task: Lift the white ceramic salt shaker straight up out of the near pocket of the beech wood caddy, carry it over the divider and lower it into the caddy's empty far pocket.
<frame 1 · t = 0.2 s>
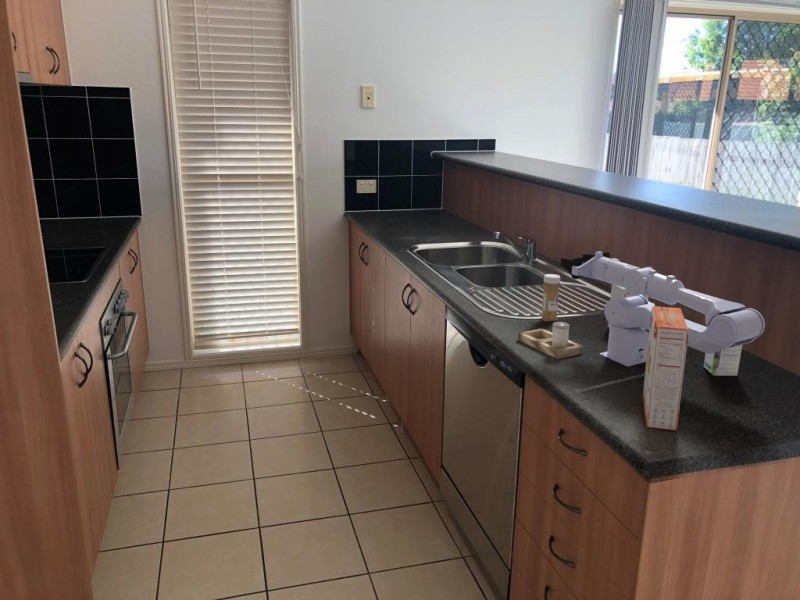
hand: (572, 259, 172), 21 cm above the worktop, tool horizontal, fingers open, 7 cm apart
salt shaker: (559, 350, 165), point 1 cm above the worktop, touching caddy
cracker box: (657, 415, 133), on the worktop
small box: (626, 330, 183), on the worktop
sprinkles bottle: (549, 320, 191), on the worktop
caddy: (558, 353, 166), on the worktop
syrup box: (720, 372, 154), on the worktop
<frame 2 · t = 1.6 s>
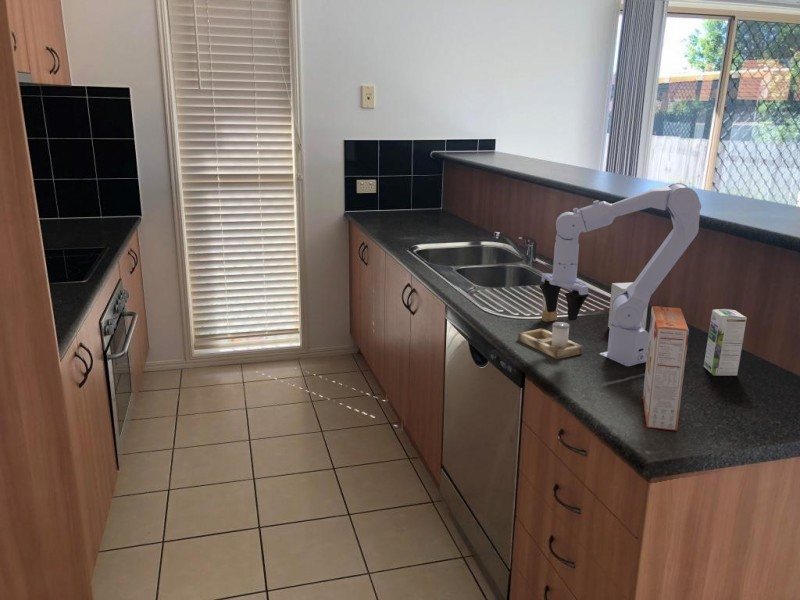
hand: (561, 315, 163), 10 cm above the worktop, tool pointing down, fingers open, 7 cm apart
nothing on the worktop moved.
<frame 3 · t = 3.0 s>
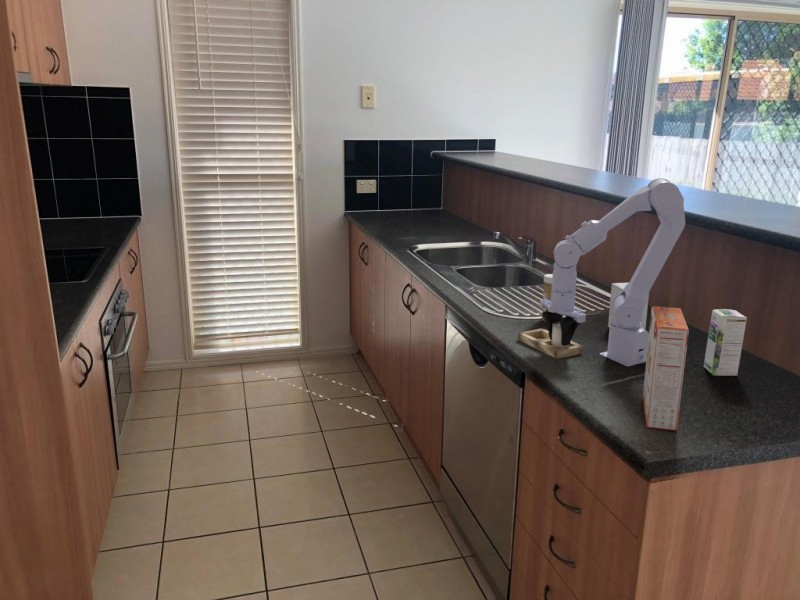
hand: (559, 341, 165), 3 cm above the worktop, tool pointing down, fingers closed on salt shaker, 4 cm apart
salt shaker: (559, 350, 165), point 1 cm above the worktop, touching caddy, gripper
everything else where it was.
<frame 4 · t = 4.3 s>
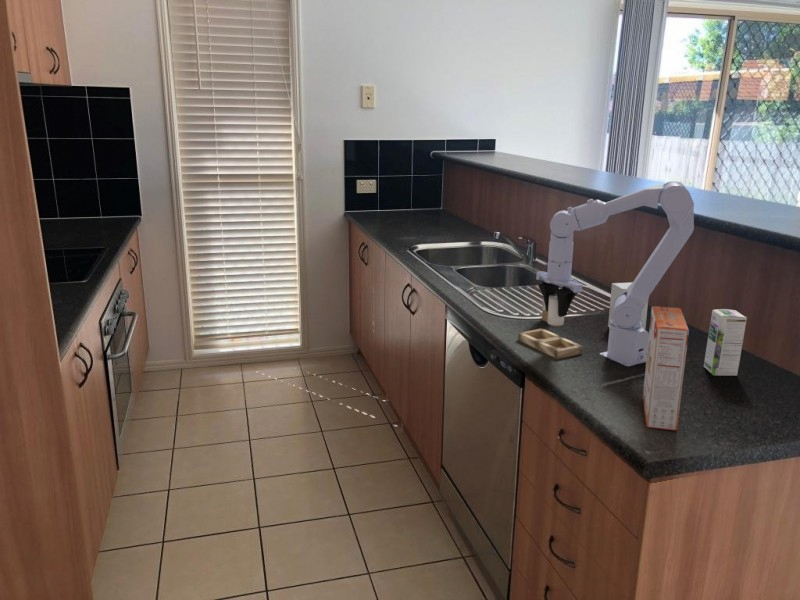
hand: (556, 313, 164), 10 cm above the worktop, tool pointing down, fingers closed on salt shaker, 4 cm apart
salt shaker: (555, 323, 165), point 7 cm above the worktop, touching gripper
everything else where it was.
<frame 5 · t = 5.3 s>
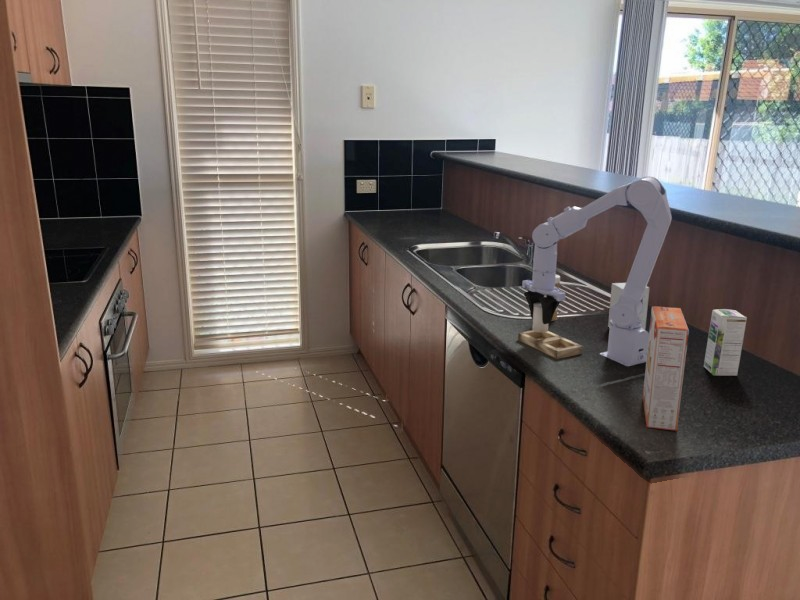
hand: (541, 320, 170), 6 cm above the worktop, tool pointing down, fingers closed on salt shaker, 4 cm apart
salt shaker: (540, 330, 171), point 4 cm above the worktop, touching gripper
everything else where it was.
when the fingers open (4 cm above the worktop, at t = 6.1 s): salt shaker stays where it is, resting on caddy.
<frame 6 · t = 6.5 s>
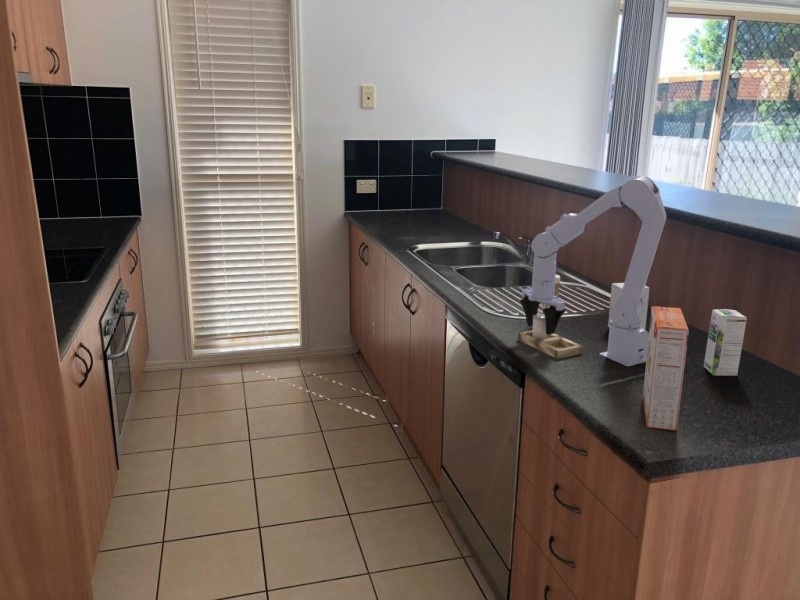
hand: (540, 329, 171), 4 cm above the worktop, tool pointing down, fingers open, 7 cm apart
salt shaker: (539, 341, 172), point 1 cm above the worktop, touching caddy
everything else where it was.
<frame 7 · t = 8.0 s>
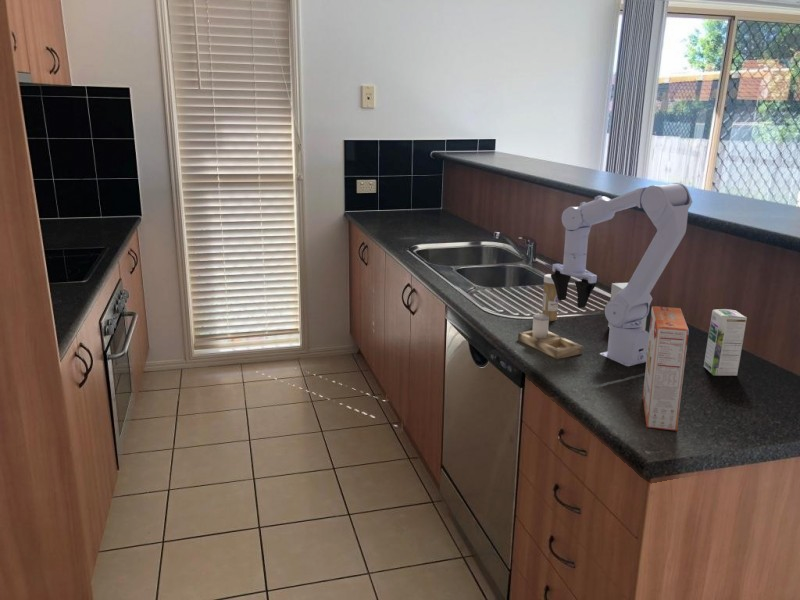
hand: (571, 303, 173), 10 cm above the worktop, tool pointing down, fingers open, 7 cm apart
nothing on the worktop moved.
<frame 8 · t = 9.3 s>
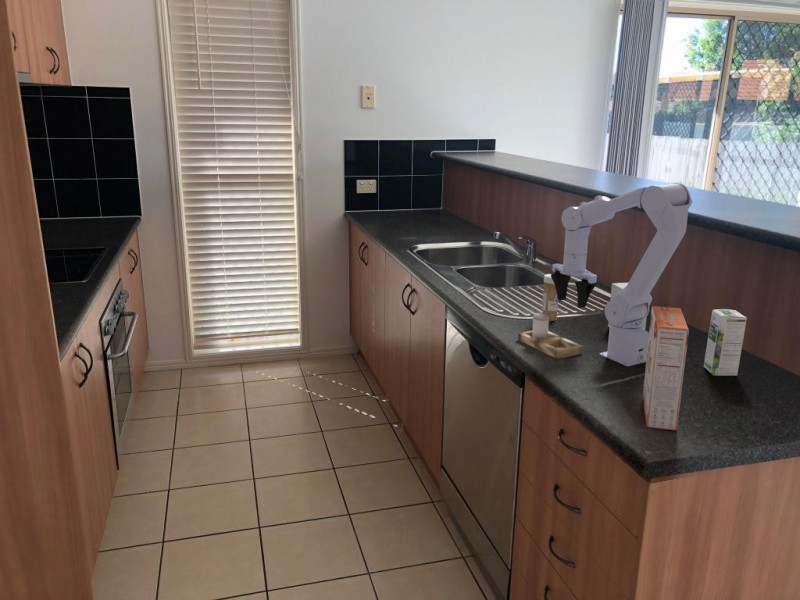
hand: (571, 303, 173), 10 cm above the worktop, tool pointing down, fingers open, 7 cm apart
nothing on the worktop moved.
at the end: salt shaker 0.1 cm from the target spot on the caddy, point 0.6 cm above the caddy's base; salt shaker tilted 0°; the gripper is holding nothing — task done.
